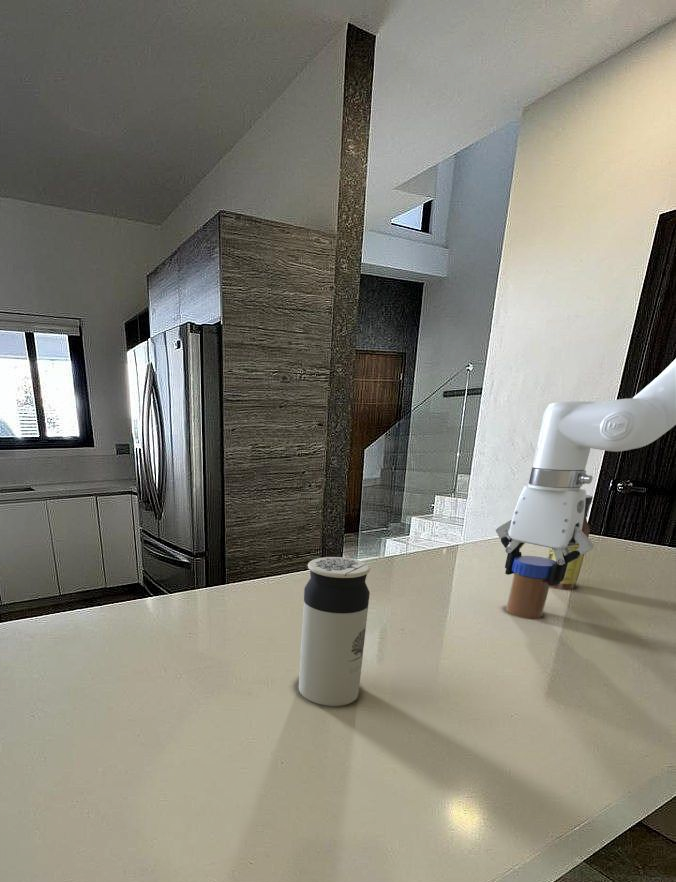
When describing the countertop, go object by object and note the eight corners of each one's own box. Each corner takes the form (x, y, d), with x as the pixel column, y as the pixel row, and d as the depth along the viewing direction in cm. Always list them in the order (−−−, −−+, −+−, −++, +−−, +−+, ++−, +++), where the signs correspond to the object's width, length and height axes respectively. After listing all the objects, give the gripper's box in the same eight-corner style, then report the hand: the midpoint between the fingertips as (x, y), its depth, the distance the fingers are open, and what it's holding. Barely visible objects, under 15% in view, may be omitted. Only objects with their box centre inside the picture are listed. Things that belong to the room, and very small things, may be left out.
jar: (531, 608, 93) (542, 559, 90) (548, 620, 88) (562, 568, 84) (499, 608, 93) (510, 558, 90) (515, 619, 88) (527, 567, 84)
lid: (542, 567, 91) (544, 555, 90) (564, 579, 84) (567, 566, 83) (504, 567, 91) (506, 555, 90) (523, 578, 85) (526, 566, 84)
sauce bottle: (547, 579, 109) (569, 491, 102) (579, 586, 105) (604, 495, 98) (536, 586, 105) (558, 494, 98) (569, 593, 101) (594, 498, 94)
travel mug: (286, 689, 66) (292, 563, 59) (323, 671, 70) (333, 552, 64) (333, 715, 60) (345, 579, 53) (370, 693, 65) (385, 565, 58)
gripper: (625, 483, 77) (595, 588, 83) (515, 473, 90) (497, 564, 97) (604, 487, 73) (574, 596, 79) (493, 476, 87) (475, 570, 93)
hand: (531, 577), depth 88 cm, fingers closed on lid, 6 cm apart
